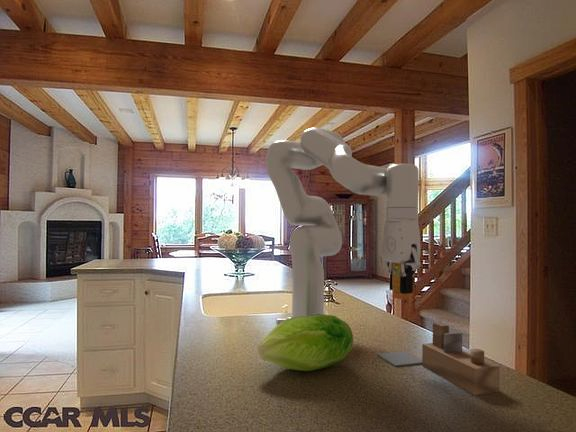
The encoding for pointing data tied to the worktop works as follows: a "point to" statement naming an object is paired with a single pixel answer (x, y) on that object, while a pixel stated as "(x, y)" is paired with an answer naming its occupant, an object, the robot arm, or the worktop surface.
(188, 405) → the worktop surface
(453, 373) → the brown wooden block shape
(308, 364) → the lettuce
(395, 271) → the supplement box
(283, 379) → the worktop surface
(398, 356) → the mat
